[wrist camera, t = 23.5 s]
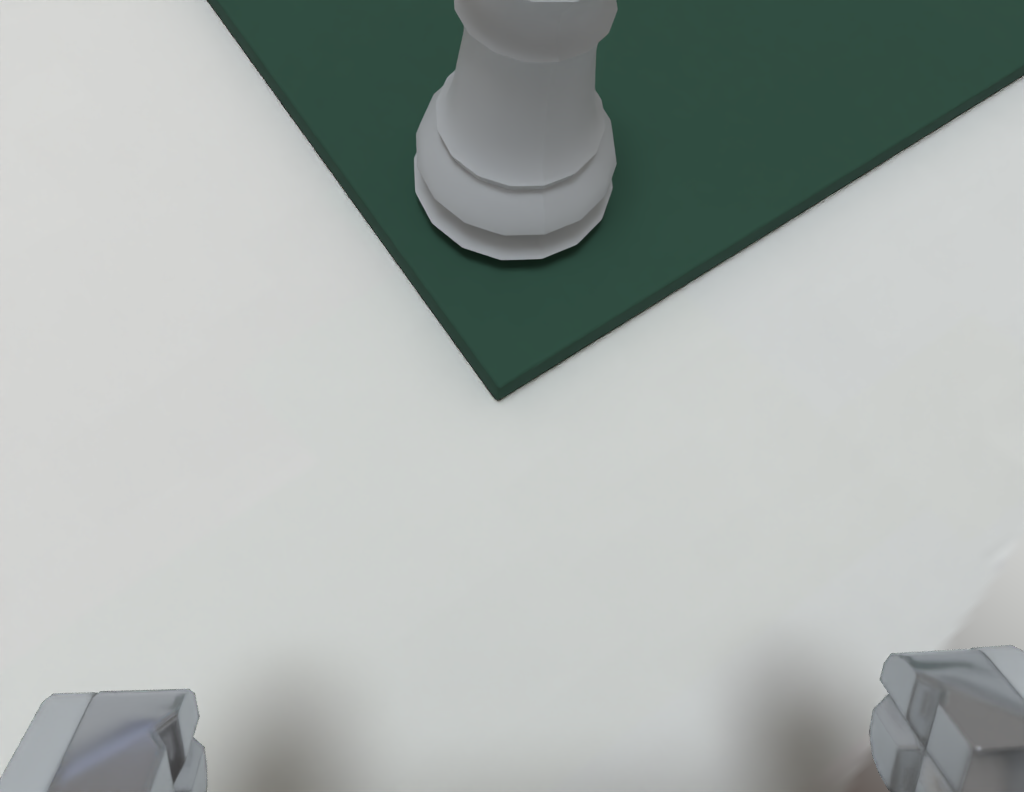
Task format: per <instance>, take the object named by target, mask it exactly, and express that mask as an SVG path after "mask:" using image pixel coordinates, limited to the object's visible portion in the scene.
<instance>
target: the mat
mask: <svg viewBox="0 0 1024 792" xmlns="http://www.w3.org/2000/svg"><path fill="white" fill-rule="evenodd" d="M208 2H209V3H210V4H211V6H212V7H213V9H214V10H215V11H216V13H217V14H218V16H219V17H220V18H221V20H222V21H223V22H224V24H225V25H226V27H227V28H228V29H229V31H230V32H231V34H232V35H233V36H234V38H235V39H236V40H237V42H238V43H239V45H240V46H241V47H242V49H243V50H244V52H245V53H246V54H247V56H248V57H249V58H250V60H251V61H252V63H253V64H254V65H255V67H256V68H257V70H258V71H259V72H260V74H261V75H262V76H263V78H264V79H265V81H266V82H267V83H268V85H269V86H270V88H271V89H272V90H273V92H274V93H275V94H276V96H277V97H278V99H279V100H280V101H281V103H282V104H283V106H284V107H285V108H286V110H287V111H288V112H289V114H290V115H291V117H292V118H293V119H294V121H295V122H296V124H297V125H298V126H299V128H300V129H301V130H302V132H303V133H304V135H305V136H306V137H307V139H308V140H309V142H310V143H311V144H312V146H313V147H314V149H315V150H316V151H317V153H318V154H319V155H320V157H321V158H322V160H323V161H324V162H325V164H326V165H327V167H328V168H329V169H330V171H331V172H332V173H333V175H334V176H335V178H336V179H337V180H338V182H339V183H340V185H341V186H342V187H343V189H344V190H345V191H346V193H347V194H348V196H349V197H350V198H351V200H352V201H353V203H354V204H355V205H356V207H357V208H358V209H359V211H360V212H361V214H362V215H363V216H364V218H365V219H366V221H367V222H368V223H369V225H370V226H371V227H372V229H373V230H374V232H375V233H376V234H377V236H378V237H379V239H380V240H381V241H382V243H383V244H384V245H385V247H386V248H387V250H388V251H389V252H390V254H391V255H392V257H393V258H394V259H395V261H396V262H397V263H398V265H399V266H400V268H401V269H402V270H403V272H404V273H405V275H406V276H407V277H408V279H409V280H410V281H411V283H412V284H413V286H414V287H415V288H416V290H417V291H418V293H419V294H420V295H421V297H422V298H423V299H424V301H425V302H426V304H427V305H428V306H429V308H430V309H431V311H432V312H433V313H434V315H435V316H436V317H437V319H438V320H439V322H440V323H441V324H442V326H443V327H444V329H445V330H446V331H447V333H448V334H449V335H450V337H451V338H452V340H453V341H454V342H455V344H456V345H457V347H458V348H459V349H460V351H461V352H462V353H463V355H464V356H465V358H466V359H467V360H468V362H469V363H470V365H471V366H472V367H473V369H474V370H475V371H476V373H477V374H478V376H479V377H480V378H481V380H482V381H483V383H484V384H485V385H486V387H487V388H488V389H489V391H490V392H491V394H492V395H493V396H494V398H495V399H497V400H499V399H501V398H503V397H504V396H506V395H508V394H509V393H511V392H512V391H514V390H516V389H517V388H519V387H521V386H522V385H524V384H525V383H527V382H529V381H530V380H532V379H533V378H535V377H537V376H538V375H540V374H542V373H543V372H545V371H546V370H548V369H550V368H551V367H553V366H554V365H556V364H558V363H559V362H561V361H563V360H564V359H566V358H567V357H569V356H571V355H572V354H574V353H575V352H577V351H579V350H580V349H582V348H584V347H585V346H587V345H588V344H590V343H592V342H593V341H595V340H596V339H598V338H600V337H601V336H603V335H604V334H606V333H608V332H609V331H611V330H613V329H614V328H616V327H617V326H619V325H621V324H622V323H624V322H625V321H627V320H629V319H630V318H632V317H634V316H635V315H637V314H638V313H640V312H642V311H643V310H645V309H646V308H648V307H650V306H651V305H653V304H655V303H656V302H658V301H659V300H661V299H663V298H664V297H666V296H667V295H669V294H671V293H672V292H674V291H676V290H677V289H679V288H680V287H682V286H684V285H685V284H687V283H688V282H690V281H692V280H693V279H695V278H697V277H698V276H700V275H701V274H703V273H705V272H706V271H708V270H709V269H711V268H713V267H714V266H716V265H717V264H719V263H721V262H722V261H724V260H726V259H727V258H729V257H730V256H732V255H734V254H735V253H737V252H738V251H740V250H742V249H743V248H745V247H747V246H748V245H750V244H751V243H753V242H755V241H756V240H758V239H759V238H761V237H763V236H764V235H766V234H768V233H769V232H771V231H772V230H774V229H776V228H777V227H779V226H780V225H782V224H784V223H785V222H787V221H789V220H790V219H792V218H793V217H795V216H797V215H798V214H800V213H801V212H803V211H805V210H806V209H808V208H809V207H811V206H813V205H814V204H816V203H818V202H819V201H821V200H822V199H824V198H826V197H827V196H829V195H830V194H832V193H834V192H835V191H837V190H839V189H840V188H842V187H843V186H845V185H847V184H848V183H850V182H851V181H853V180H855V179H856V178H858V177H860V176H861V175H863V174H864V173H866V172H868V171H869V170H871V169H872V168H874V167H876V166H877V165H879V164H881V163H882V162H884V161H885V160H887V159H889V158H890V157H892V156H893V155H895V154H897V153H898V152H900V151H902V150H903V149H905V148H906V147H908V146H910V145H911V144H913V143H914V142H916V141H918V140H919V139H921V138H922V137H924V136H926V135H927V134H929V133H931V132H932V131H934V130H935V129H937V128H939V127H940V126H942V125H943V124H945V123H947V122H948V121H950V120H952V119H953V118H955V117H956V116H958V115H960V114H961V113H963V112H964V111H966V110H968V109H969V108H971V107H973V106H974V105H976V104H977V103H979V102H981V101H982V100H984V99H985V98H987V97H989V96H990V95H992V94H994V93H995V92H997V91H998V90H1000V89H1002V88H1003V87H1005V86H1006V85H1008V84H1010V83H1011V82H1013V81H1015V80H1016V79H1018V78H1019V77H1021V76H1023V75H1024V0H616V2H617V8H618V10H617V13H616V15H615V18H614V21H613V23H612V26H611V29H610V31H609V33H608V34H607V35H606V36H605V37H604V38H603V39H602V40H601V41H600V42H599V43H598V45H597V50H596V70H595V90H596V92H597V93H598V95H599V97H600V98H601V100H602V105H603V109H604V110H605V112H606V114H607V115H608V117H609V118H610V120H611V126H612V133H613V140H614V147H615V154H616V162H617V164H616V167H615V170H614V173H613V176H612V186H613V189H612V192H611V195H610V197H609V200H608V203H607V206H606V209H605V212H604V215H603V218H602V220H601V221H600V222H599V223H598V224H597V225H596V226H595V227H594V228H593V229H592V230H591V231H590V232H589V233H588V234H587V235H586V236H585V237H584V238H583V239H582V240H581V241H580V242H579V243H578V244H577V245H575V246H572V247H570V248H567V249H565V250H562V251H560V252H557V253H555V254H552V255H550V256H548V257H545V258H543V259H525V260H499V259H496V258H493V257H490V256H487V255H484V254H480V253H477V252H474V251H471V250H468V249H465V248H462V247H461V246H460V245H458V244H457V243H456V242H455V241H453V240H452V239H451V238H450V237H448V236H447V235H446V234H445V233H443V232H442V231H441V230H440V229H438V228H437V227H436V226H435V225H433V224H432V222H431V220H430V219H429V217H428V215H427V213H426V211H425V209H424V207H423V205H422V204H421V202H420V200H419V198H418V196H417V194H416V192H415V174H414V157H415V155H416V153H417V147H416V133H417V130H418V128H419V125H420V123H421V121H422V119H423V116H424V114H425V112H426V110H427V108H428V106H429V103H430V101H431V99H432V97H433V95H434V93H436V92H437V91H438V90H439V89H440V88H441V87H443V85H444V83H445V81H446V79H447V77H448V76H449V75H450V74H452V73H453V72H454V71H455V69H456V64H457V60H458V55H459V50H460V46H461V41H462V36H463V32H464V25H463V23H462V21H461V20H460V18H459V16H458V15H457V13H456V11H455V9H454V0H208Z"/></svg>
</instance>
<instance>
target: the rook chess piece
mask: <svg viewBox="0 0 1024 792" xmlns="http://www.w3.org/2000/svg"><path fill="white" fill-rule="evenodd" d="M454 9H455V11H456V13H457V15H458V16H459V18H460V20H461V21H462V23H463V25H464V32H463V36H462V41H461V46H460V50H459V55H458V60H457V64H456V69H455V71H454V72H453V73H452V74H450V75H449V76H448V77H447V79H446V81H445V83H444V85H443V87H441V88H440V89H439V90H438V91H437V92H436V93H434V95H433V97H432V99H431V101H430V103H429V106H428V108H427V110H426V112H425V114H424V116H423V119H422V121H421V123H420V125H419V128H418V130H417V133H416V147H417V153H416V155H415V157H414V174H415V192H416V194H417V196H418V198H419V200H420V202H421V204H422V205H423V207H424V209H425V211H426V213H427V215H428V217H429V219H430V220H431V222H432V224H433V225H435V226H436V227H437V228H438V229H440V230H441V231H442V232H443V233H445V234H446V235H447V236H448V237H450V238H451V239H452V240H453V241H455V242H456V243H457V244H458V245H460V246H461V247H462V248H465V249H468V250H471V251H474V252H477V253H480V254H484V255H487V256H490V257H493V258H496V259H499V260H525V259H543V258H545V257H548V256H550V255H552V254H555V253H557V252H560V251H562V250H565V249H567V248H570V247H572V246H575V245H577V244H578V243H579V242H580V241H581V240H582V239H583V238H584V237H585V236H586V235H587V234H588V233H589V232H590V231H591V230H592V229H593V228H594V227H595V226H596V225H597V224H598V223H599V222H600V221H601V220H602V218H603V215H604V212H605V209H606V206H607V203H608V200H609V197H610V195H611V192H612V189H613V186H612V176H613V173H614V170H615V167H616V164H617V162H616V154H615V147H614V140H613V133H612V126H611V120H610V118H609V117H608V115H607V114H606V112H605V110H604V109H603V105H602V100H601V98H600V97H599V95H598V93H597V92H596V90H595V70H596V50H597V45H598V43H599V42H600V41H601V40H602V39H603V38H604V37H605V36H606V35H607V34H608V33H609V31H610V29H611V26H612V23H613V21H614V18H615V15H616V13H617V10H618V8H617V2H616V0H454Z"/></svg>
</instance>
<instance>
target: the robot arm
mask: <svg viewBox="0 0 1024 792" xmlns="http://www.w3.org/2000/svg"><path fill="white" fill-rule="evenodd" d="M880 681H881V683H882V684H883V686H884V687H885V689H886V690H887V692H888V693H889V694H888V695H887V696H886V697H885V698H884V699H883V700H882V701H881V702H880V703H879V704H878V705H877V706H876V707H875V708H874V709H873V713H872V718H871V724H870V729H869V734H870V742H871V751H872V756H873V759H874V762H875V765H876V767H877V770H878V773H879V774H880V776H881V778H882V780H883V781H884V783H885V785H886V787H887V789H888V790H889V791H890V792H1024V651H1023V650H1021V649H1019V648H1017V647H1015V646H1013V645H1005V646H991V647H977V648H971V649H958V650H940V651H923V652H905V653H891V654H890V656H889V657H888V658H887V660H886V661H885V662H884V665H883V669H882V673H881V677H880ZM199 717H200V716H199V711H198V706H197V701H196V696H195V693H194V692H193V691H191V690H190V689H168V690H131V691H100V692H99V693H95V692H90V693H55V694H52V695H51V696H49V697H48V698H47V699H46V700H44V701H43V702H42V703H41V705H40V707H39V709H38V710H37V712H36V714H35V716H34V718H33V720H32V721H31V723H30V725H29V727H28V729H27V730H26V732H25V734H24V736H23V738H22V739H21V741H20V743H19V745H18V747H17V749H16V750H15V752H14V754H13V756H12V758H11V759H10V761H9V763H8V765H7V767H6V769H5V770H4V772H3V774H2V776H1V778H0V792H207V761H206V754H205V747H204V746H203V745H202V744H201V743H199V742H198V741H197V740H196V739H195V738H194V737H193V736H194V733H195V730H196V726H197V723H198V720H199Z"/></svg>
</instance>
